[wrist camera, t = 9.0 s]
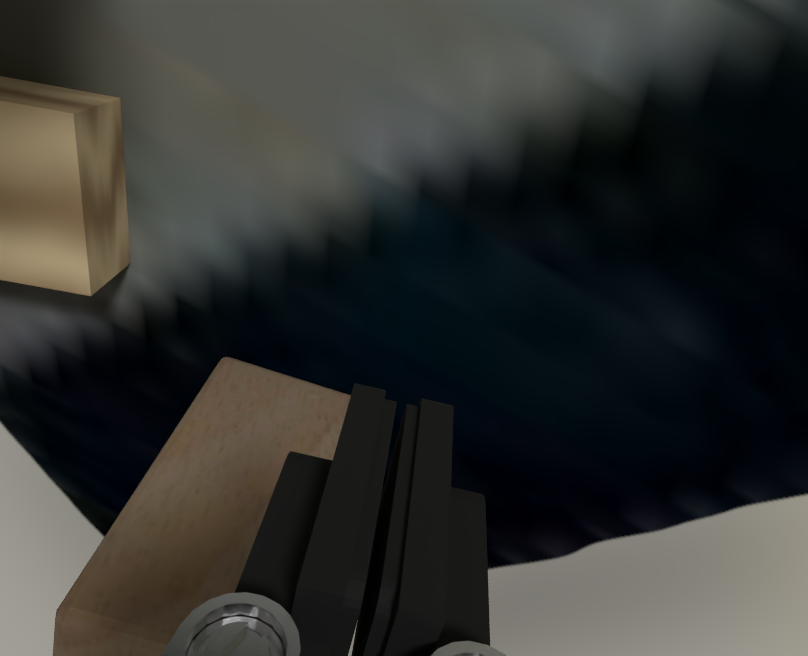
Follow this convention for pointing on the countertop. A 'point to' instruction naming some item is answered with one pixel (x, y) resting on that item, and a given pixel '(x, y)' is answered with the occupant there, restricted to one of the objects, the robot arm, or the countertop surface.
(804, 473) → the countertop surface
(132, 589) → the wooden block
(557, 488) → the countertop surface
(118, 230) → the oak block
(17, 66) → the countertop surface
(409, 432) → the robot arm
